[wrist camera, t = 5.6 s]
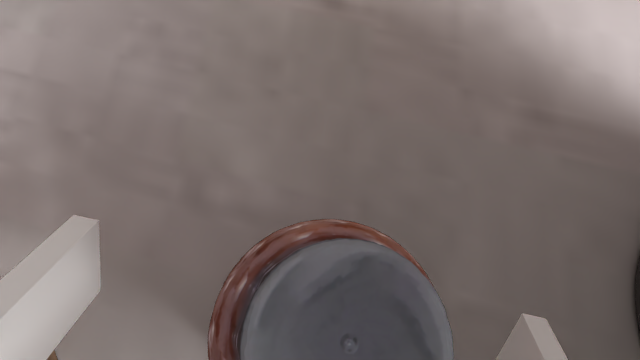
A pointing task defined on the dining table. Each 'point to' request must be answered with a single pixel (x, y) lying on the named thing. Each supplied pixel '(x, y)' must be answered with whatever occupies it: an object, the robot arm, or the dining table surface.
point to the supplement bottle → (328, 300)
